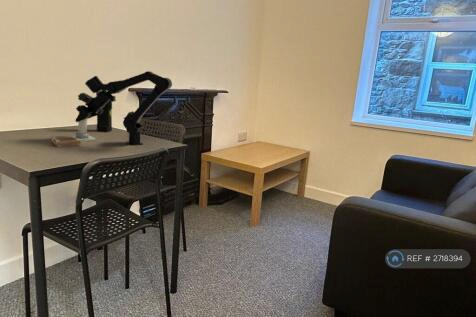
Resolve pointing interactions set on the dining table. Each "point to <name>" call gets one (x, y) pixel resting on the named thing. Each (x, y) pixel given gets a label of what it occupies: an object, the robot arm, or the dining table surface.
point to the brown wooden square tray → (66, 141)
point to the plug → (82, 130)
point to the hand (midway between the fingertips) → (79, 120)
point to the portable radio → (105, 118)
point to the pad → (85, 139)
